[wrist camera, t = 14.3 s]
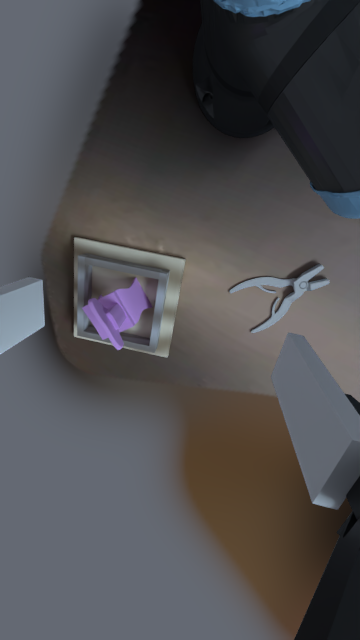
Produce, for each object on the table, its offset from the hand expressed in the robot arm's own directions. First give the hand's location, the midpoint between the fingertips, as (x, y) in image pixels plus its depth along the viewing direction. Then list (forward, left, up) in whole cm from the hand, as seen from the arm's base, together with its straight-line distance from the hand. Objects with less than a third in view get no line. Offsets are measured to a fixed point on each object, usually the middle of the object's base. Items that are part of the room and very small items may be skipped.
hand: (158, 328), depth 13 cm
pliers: (+5, +15, -33) cm, 37 cm away
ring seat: (+12, -12, -33) cm, 37 cm away
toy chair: (+12, -12, -32) cm, 36 cm away
